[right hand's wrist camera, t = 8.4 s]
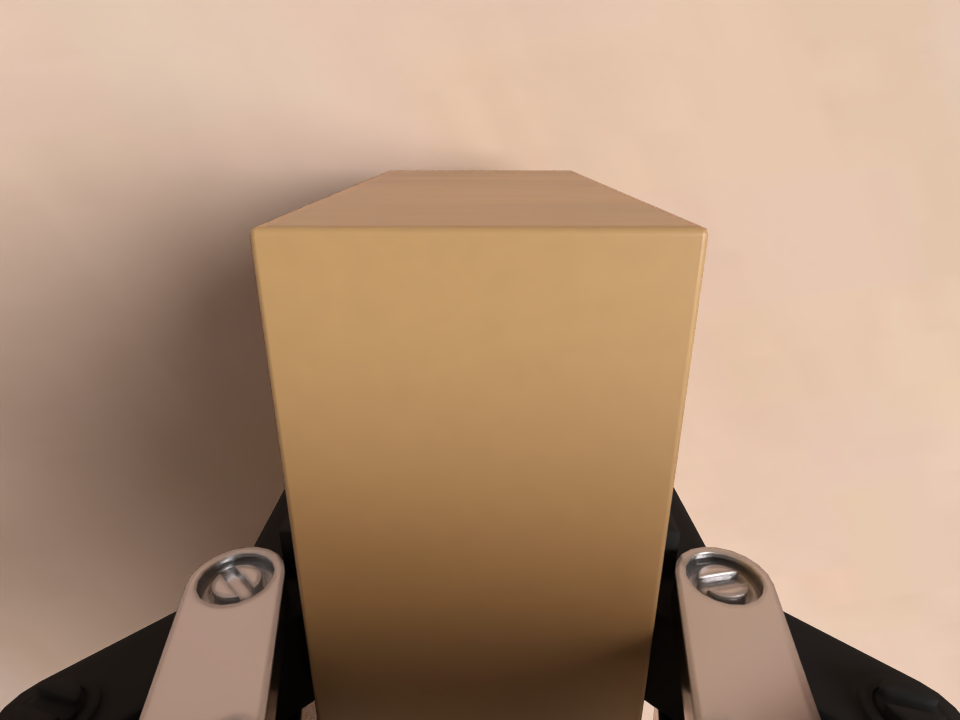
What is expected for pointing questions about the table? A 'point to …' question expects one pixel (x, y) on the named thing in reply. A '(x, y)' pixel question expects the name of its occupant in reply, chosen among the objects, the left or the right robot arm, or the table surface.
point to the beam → (479, 437)
